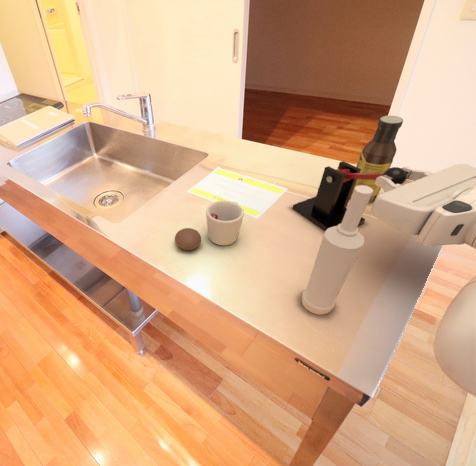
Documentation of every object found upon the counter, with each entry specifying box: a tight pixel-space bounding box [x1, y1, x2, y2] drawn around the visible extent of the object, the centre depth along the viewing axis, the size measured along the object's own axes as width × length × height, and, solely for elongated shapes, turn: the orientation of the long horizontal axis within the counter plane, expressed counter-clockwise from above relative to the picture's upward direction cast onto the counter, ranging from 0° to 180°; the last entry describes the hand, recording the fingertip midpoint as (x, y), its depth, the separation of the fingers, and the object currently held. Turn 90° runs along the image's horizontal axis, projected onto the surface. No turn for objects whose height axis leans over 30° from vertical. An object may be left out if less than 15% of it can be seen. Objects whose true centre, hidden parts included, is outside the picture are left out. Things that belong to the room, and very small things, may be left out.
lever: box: [335, 166, 408, 186], centre depth 64 cm, size 14×4×4 cm, turn 21°
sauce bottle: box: [350, 115, 404, 203], centre depth 73 cm, size 6×6×20 cm
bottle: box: [301, 185, 373, 316], centre depth 50 cm, size 5×5×25 cm
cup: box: [205, 200, 245, 246], centre depth 73 cm, size 11×8×8 cm
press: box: [292, 160, 366, 232], centre depth 72 cm, size 12×9×13 cm
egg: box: [174, 227, 202, 251], centre depth 73 cm, size 6×6×4 cm
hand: (389, 175), depth 59 cm, fingers closed on lever, 4 cm apart
